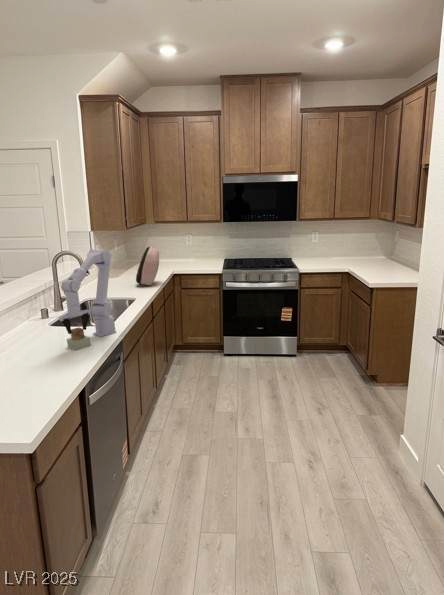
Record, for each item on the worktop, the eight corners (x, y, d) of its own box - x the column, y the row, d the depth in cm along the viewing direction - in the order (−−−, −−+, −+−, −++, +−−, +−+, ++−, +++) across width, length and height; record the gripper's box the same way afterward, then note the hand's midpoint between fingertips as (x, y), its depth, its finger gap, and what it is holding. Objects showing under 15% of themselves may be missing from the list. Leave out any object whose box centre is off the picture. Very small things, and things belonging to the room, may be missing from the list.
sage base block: (83, 341, 205) (82, 334, 204) (91, 345, 200) (89, 337, 199) (67, 346, 200) (66, 338, 199) (75, 350, 194) (74, 342, 193)
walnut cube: (80, 335, 202) (79, 327, 201) (84, 337, 199) (83, 329, 198) (71, 338, 199) (70, 329, 198) (75, 340, 196) (74, 331, 195)
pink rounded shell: (138, 282, 337) (134, 245, 329) (162, 280, 339) (158, 244, 331) (135, 288, 316) (131, 249, 308) (161, 286, 318) (157, 247, 310)
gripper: (83, 299, 202) (87, 325, 205) (54, 306, 192) (59, 333, 196) (90, 301, 197) (94, 328, 201) (61, 309, 187) (65, 337, 191)
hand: (77, 331), depth 198 cm, fingers open, 7 cm apart
